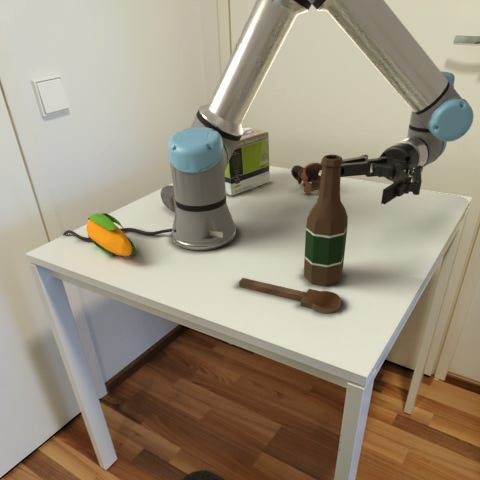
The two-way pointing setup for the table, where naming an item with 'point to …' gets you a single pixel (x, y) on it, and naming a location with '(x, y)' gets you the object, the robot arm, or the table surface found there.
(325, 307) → the wooden spoon
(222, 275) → the table surface
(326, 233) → the beer bottle
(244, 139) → the tea box
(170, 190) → the perforated stone tool
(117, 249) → the corn
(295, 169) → the brown rounded hollow piece
